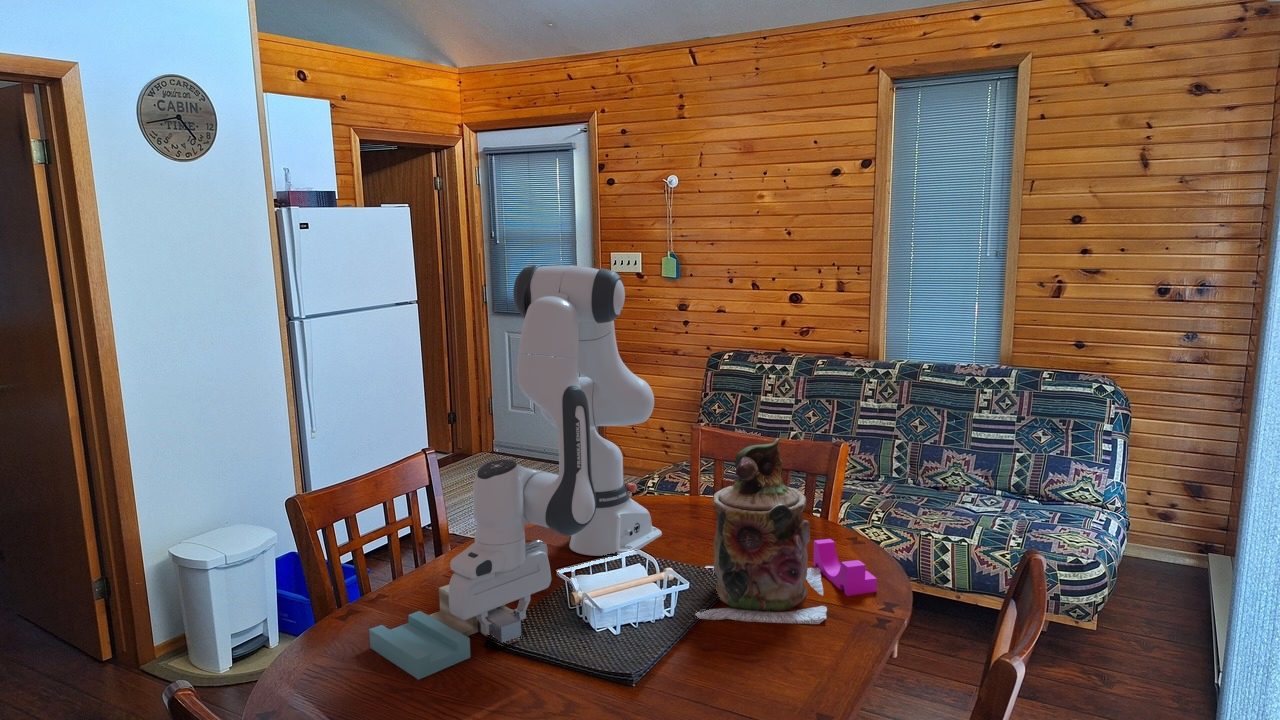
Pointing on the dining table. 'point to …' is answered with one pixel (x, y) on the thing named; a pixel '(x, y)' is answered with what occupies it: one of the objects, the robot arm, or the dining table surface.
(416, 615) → the teal grooved block
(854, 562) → the toy block
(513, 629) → the gray rectangular bar
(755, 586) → the cookie jar
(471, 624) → the bracket
